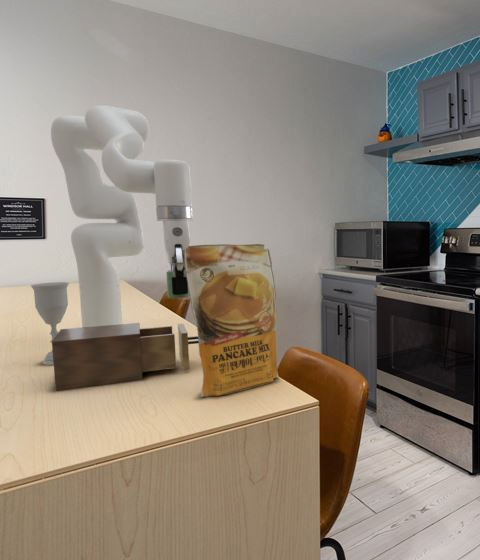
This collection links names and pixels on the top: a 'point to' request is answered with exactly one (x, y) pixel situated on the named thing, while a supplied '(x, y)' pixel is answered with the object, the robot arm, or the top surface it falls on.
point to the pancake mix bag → (233, 315)
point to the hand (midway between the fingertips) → (179, 291)
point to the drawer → (164, 348)
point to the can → (169, 287)
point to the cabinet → (97, 355)
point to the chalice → (51, 307)
